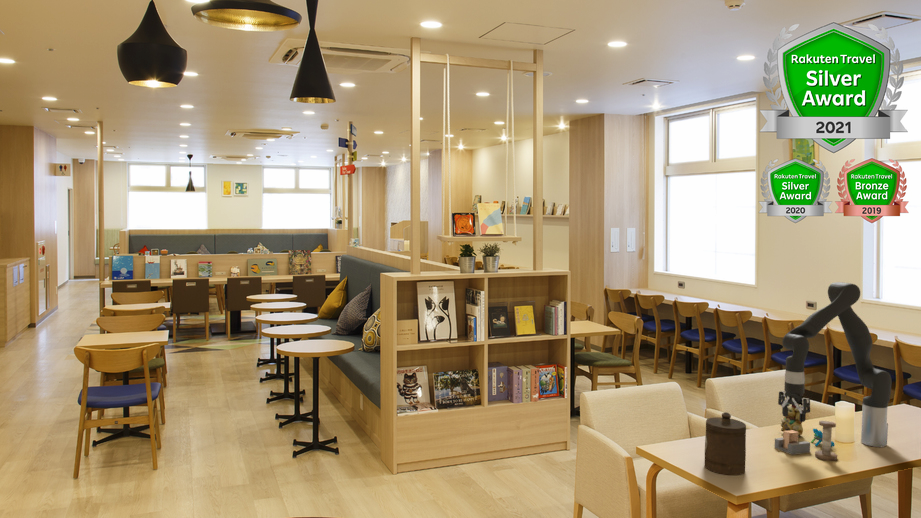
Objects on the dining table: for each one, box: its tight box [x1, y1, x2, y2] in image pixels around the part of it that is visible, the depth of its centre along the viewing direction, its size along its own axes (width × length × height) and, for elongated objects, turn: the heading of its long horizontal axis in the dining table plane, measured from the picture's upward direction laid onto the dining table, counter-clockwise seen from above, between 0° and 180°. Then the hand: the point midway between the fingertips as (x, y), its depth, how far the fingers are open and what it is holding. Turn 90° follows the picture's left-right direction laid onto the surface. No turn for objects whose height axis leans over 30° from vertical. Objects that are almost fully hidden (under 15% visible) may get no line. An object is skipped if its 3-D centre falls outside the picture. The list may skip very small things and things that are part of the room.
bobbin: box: [814, 420, 838, 462], centre depth 267 cm, size 8×8×14 cm
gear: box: [810, 428, 835, 447], centre depth 282 cm, size 11×6×10 cm
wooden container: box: [704, 411, 747, 476], centre depth 254 cm, size 15×15×22 cm
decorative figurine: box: [780, 404, 804, 438], centre depth 296 cm, size 10×8×15 cm
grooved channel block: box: [774, 437, 811, 456], centre depth 276 cm, size 10×9×4 cm
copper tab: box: [782, 430, 799, 449], centre depth 275 cm, size 5×3×7 cm, turn 109°
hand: (793, 418), depth 275 cm, fingers open, 8 cm apart
